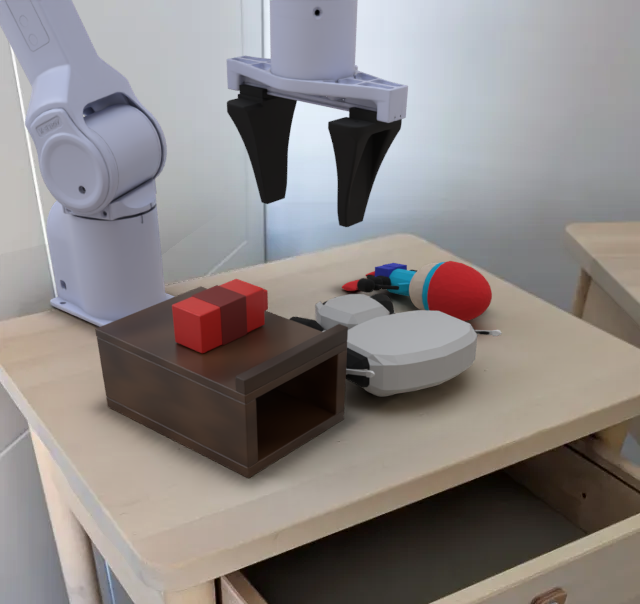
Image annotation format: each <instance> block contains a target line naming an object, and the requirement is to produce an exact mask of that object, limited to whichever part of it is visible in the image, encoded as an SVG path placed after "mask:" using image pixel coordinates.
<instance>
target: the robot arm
mask: <svg viewBox="0 0 640 604" xmlns="http://www.w3.org/2000/svg"><path fill="white" fill-rule="evenodd" d="M358 3H359V2H358V0H269V30H270V31H269V39H270V40H269V42H270V43H269V45H270V49H269V51H270V58H267V57H257V56H251V55H240V56H234V57H229V58H226V82H227V89H228V90H231V91H237V92H239V93H238V94H237V97H236V98H233V99H229V100H227V102H226V112H227V114H228V116H229V117H230V119H231V121H232V123H233V124H234V126H235V127H236V130H237V131H238V134H239V136H240V138H241V140H242V143H243V145H244V148H245V150H246V152H247V155H248V158H249V161H250V165H251V167H252V172H253V175H254V178H255V183H256V187H257V190H258V194H259V198H260V201H261V204H265V205H269V204H272V203H275V202H278V201H281V200H283V199H285V198H286V195H287V194H286V193H287V188H288V187H287V186H288V169H289V167H288V164H289V163H288V162H289V158H288V157H289V146H290V145H289V144H290V136H291V131H292V125H293V119H294V114H295V111H296V107H297V102H301V103H302V102H303V103H307V104H311V105H316V106H321V107H324V108H325V107H326V108H331V109H335V110H341V111H343V112H348V116H344V117H341V118H337V119H334V120H330V121H329V120H328V122H327V130H328V132H329V136H330V141H331V144H332V148H333V154H334V160H335V167H336V176H337V190H336V193H337V195H336V197H337V198H336V201H337V202H336V203H337V205H336V212H337V220H338V225H339V226H340V227H343V228H350V227H352V226H355V225H357V224H359V223H362V222H364V218H365V215H366V211H367V206H368V204H369V203H368V202H369V200H370V197H371V193H372V189H373V186H374V183H375V181H376V178H377V175H378V173H379V170H380V168H381V167H382V164H383V161H384V159H385V157H386V155H387V153H388V151H389V150H390V147H391V146H392V144H393V142H394V141H395V139H396V137H397V136H398V134H399V133H400V131H401V130H402V122H403V119H405V118H407V107H408V105H407V104H408V93H409V86H408V84H402V83H398V82H393V81H390V80H387V79H384V78H380V77H378V76H375V75H373V74H370V73H367V72H364V71H360V70H359V66H358V65H357V64H356V51H357V50H356V49H357V48H356V47H357V28H358V27H357V26H358V25H357V24H358ZM0 28H1V30H2V32H3V34H4V36H5V38H6V39H7V41H8V44H9V46H10V47H11V49H12V51H13V53H14V55H15V58H17V61H18V63H19V64H20V67H21V69H22V70H23V73H24V74H25V77H26V78H27V81H28V82H29V84H30V86H31V93H30V98H29V101H28V106H27V110H26V114H25V118H24V119H25V120H24V125H25V128H26V129H27V132H28V133H29V135H30V137H31V140H32V141H33V145H34V147H35V150H36V154H37V161H38V162H37V163H38V168H39V172H40V175H41V178H42V181H43V183H44V185H45V187H46V188H47V190H48V192H49V193H50V195H51V196H52V197H53V198H54V200H55V202H53V204H52V206H51V208H49V209H50V210H49V212H48V215H47V218H46V227H45V229H46V230H45V232H46V238H47V243H48V244H47V245H48V249H49V255H50V260H51V265H52V271H53V276H54V281H55V287H56V292H57V296H56V297H53V298H51V299H50V300H49V302H50V306H52V307H53V308H56V309H58V310H61V311H63V312H66V313H68V314H70V315H72V316H73V317H76V318H78V319H81V320H83V321H85V322H88V323H90V324H93V325H95V326H96V327H101V326H103V325H106V324H108V323H111V322H113V321H116V320H118V319H121V318H123V317H126V316H128V315H131V314H133V313H136V312H138V311H141V310H143V309H146V308H148V307H151V306H153V305H156V304H158V303H161V302H163V301H165V300H168V299H170V298H173V297H175V296H174V295H172V294H169V293H167V292H166V285H165V276H164V264H163V256H162V244H161V236H160V225H159V216H158V215H159V214H158V206H157V205H158V204H157V195H156V194H157V184H156V179H157V178H158V177H159V176H160V174H161V173H162V172H163V171H164V168H165V165H166V162H167V158H168V157H167V156H168V145H167V140H166V137H165V133H164V130H163V129H162V126H161V124H160V122H159V121H158V120H157V118H156V116H155V115H154V114H153V113H152V112H151V111H150V110H149V109H148V108H147V107H146V106H145V105H143V103H142V102H141V101H140V100H139V98H138V97H137V95H136V94H135V92H134V90H133V88H132V86H131V84H130V82H129V79H128V78H127V77H126V76H125V75H123V74H122V73H121V72H120V71H118V70H117V69H116V68H115V67H113V66H112V65H110V64H109V63H107V62H106V61H105V60H104V59H102V58H101V57H100V56H99V54H98V53H97V50H96V48H95V45H94V44H93V42H92V40H91V37H90V36H89V34H88V31H87V29H86V28H85V25H84V23H83V21H82V18H81V16H80V14H79V13H78V10H77V9H76V5H75V4H74V1H73V0H0Z"/></svg>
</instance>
